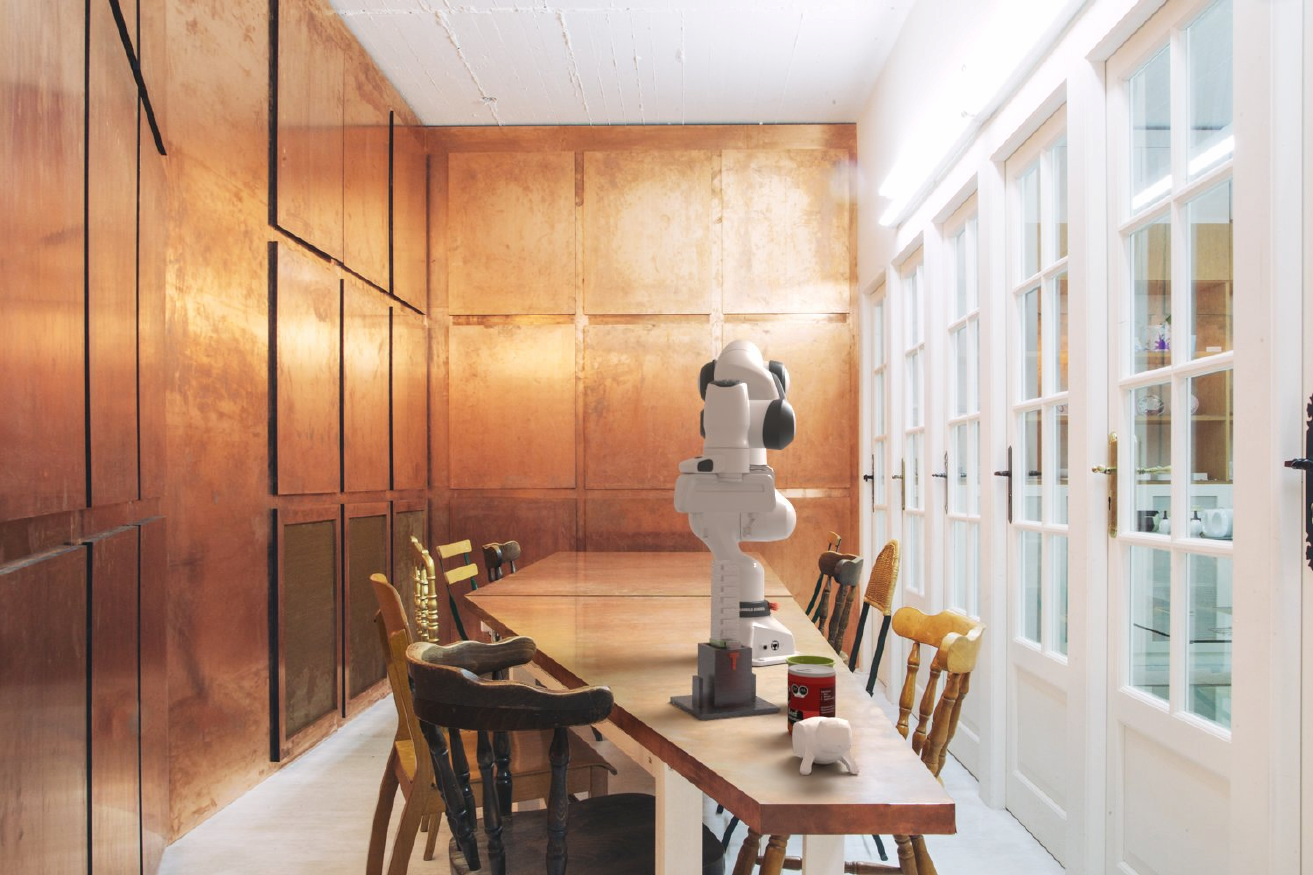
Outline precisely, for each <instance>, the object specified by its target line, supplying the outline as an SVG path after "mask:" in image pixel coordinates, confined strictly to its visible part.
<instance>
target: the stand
mask: <svg viewBox="0 0 1313 875" xmlns="http://www.w3.org/2000/svg"><path fill="white" fill-rule="evenodd" d="M710 644H711V643H710V642H709V641H708V642H698V643H697V674H694V675H692V678H691V679H692V683H691V689H692V690H691V692H692V693H691V694H687V695H676V696H670V699H669V700H670V701H669V702H670V703H671V704H673V703H674V704H675V706H676V705H677V706H676V707H678V708H679V707H680V708H679V709H681V710H683V711H684V710H685V712H686V713H687V712H688V713H687V714H689V715H691V716H693V717H694V718H695V719H697V720H698V721H711V720H719V718H723V719H731V718H730V717H734V718H742V717H752V716H764V715H773V714H780V713H781V707H780V706H777V705H776V704H774V703H772V702H769V701H767V700H765V699H764V698H761V697H759V696H757V674H756V673H753V666H752V648H751V647H748V646H746V645H743V644H741V641H738V640H734V641H726V649H715V648H713V647H711V646H710ZM674 704H673V705H674Z"/></svg>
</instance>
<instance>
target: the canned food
mask: <svg viewBox="0 0 1313 875" xmlns="http://www.w3.org/2000/svg"><path fill="white" fill-rule="evenodd" d="M836 673H837V672H836V669H835V668H834V667H833V668H831V667H828V666H823V665H815V664H798V665H792V666H790V667H788V666H787V725H786V726H787V731H788V734H789V735H790V736H791V737H792V732H793V725H794V723H796V722H800V721H802V720H805V719H808V718H812V717H827V718H834V717H835V718H836V715H837V714H836V701H837V698H836V697H837V696H836V694H837V692H836V691H837V690H836V688H837V684H836V683H837V682H836V681H837V679H836V677H837V676H836Z"/></svg>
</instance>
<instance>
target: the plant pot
mask: <svg viewBox="0 0 1313 875" xmlns="http://www.w3.org/2000/svg"><path fill="white" fill-rule="evenodd" d="M836 661H837V660H836V659H834V658H831V657H827V656H822V655H810V654H807V655H806V654H804V655H800V656H792V657H788V658H786V662H787V668H788V667H790V666H792V665H798V664H815V665H823V666H828V667H831V668H833V669H834V665H835V664H836Z"/></svg>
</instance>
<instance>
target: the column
mask: <svg viewBox="0 0 1313 875" xmlns="http://www.w3.org/2000/svg"><path fill="white" fill-rule="evenodd" d="M710 564H711V565H710V569H711V570H710V576H711V577H710V637H709V641H708V642H710V643H711V644H710V646H711V647H713V648H715V649H726V641H734V640H738V641H740V640H739V593H740V562H737V561H732V560H718V561H715V560H711V561H710Z"/></svg>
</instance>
